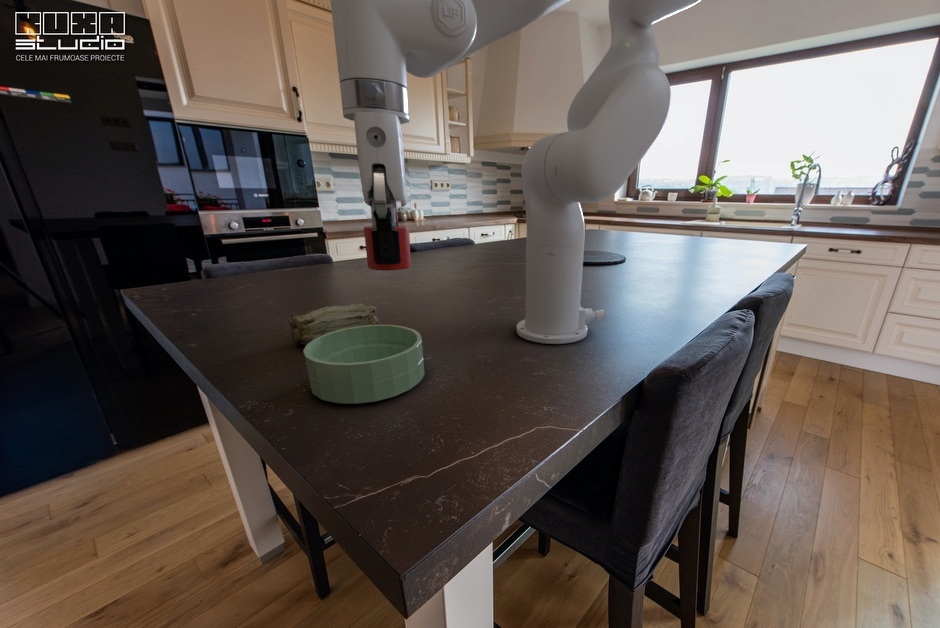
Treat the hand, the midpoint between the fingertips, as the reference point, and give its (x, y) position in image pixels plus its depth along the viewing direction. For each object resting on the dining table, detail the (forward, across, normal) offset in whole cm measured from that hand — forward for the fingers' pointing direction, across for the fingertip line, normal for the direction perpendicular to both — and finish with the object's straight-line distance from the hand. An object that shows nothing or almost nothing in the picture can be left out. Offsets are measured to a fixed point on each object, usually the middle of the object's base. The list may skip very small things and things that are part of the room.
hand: (389, 258), depth 53 cm
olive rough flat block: (+16, +14, +11) cm, 23 cm away
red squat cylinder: (+1, 0, 0) cm, 1 cm away
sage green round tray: (+15, -5, +3) cm, 16 cm away
